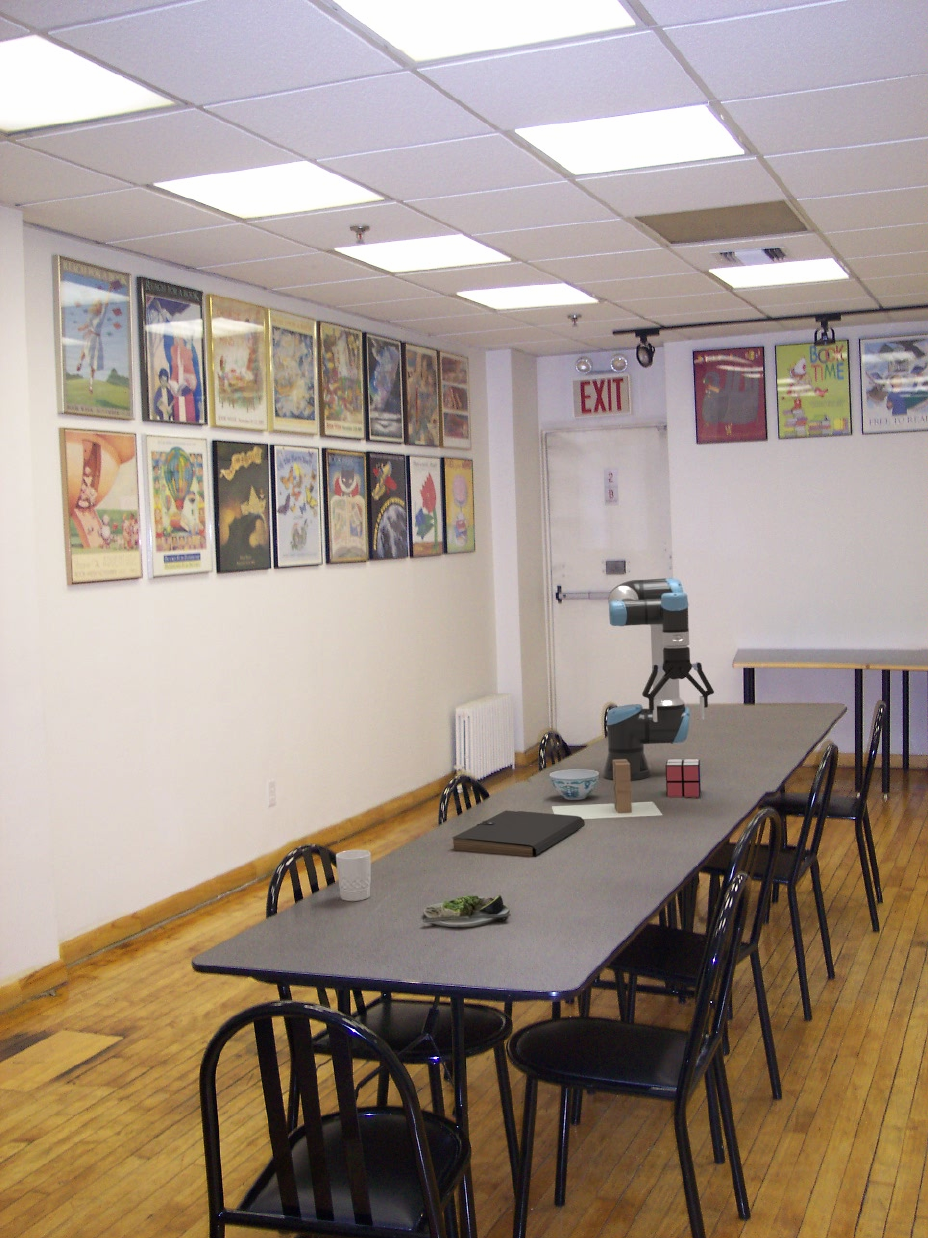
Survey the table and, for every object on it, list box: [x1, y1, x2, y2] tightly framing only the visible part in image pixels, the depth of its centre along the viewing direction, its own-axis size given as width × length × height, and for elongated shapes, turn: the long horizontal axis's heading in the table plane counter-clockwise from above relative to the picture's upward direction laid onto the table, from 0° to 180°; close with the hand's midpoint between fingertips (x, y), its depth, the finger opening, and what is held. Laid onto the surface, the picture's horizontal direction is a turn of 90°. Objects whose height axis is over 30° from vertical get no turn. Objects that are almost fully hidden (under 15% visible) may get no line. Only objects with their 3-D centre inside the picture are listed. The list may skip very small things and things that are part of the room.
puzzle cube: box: [665, 758, 702, 798], centre depth 373 cm, size 10×10×10 cm
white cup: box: [335, 849, 372, 902], centre depth 280 cm, size 8×8×10 cm
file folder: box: [451, 810, 586, 858], centre depth 328 cm, size 33×4×24 cm
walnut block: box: [612, 759, 633, 813], centre depth 354 cm, size 8×4×14 cm, turn 0°
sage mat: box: [551, 801, 663, 820], centre depth 354 cm, size 18×30×1 cm, turn 90°
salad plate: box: [422, 894, 512, 929], centre depth 261 cm, size 19×18×5 cm
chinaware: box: [549, 768, 600, 801], centre depth 374 cm, size 15×15×8 cm
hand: (678, 720), depth 352 cm, fingers open, 13 cm apart
